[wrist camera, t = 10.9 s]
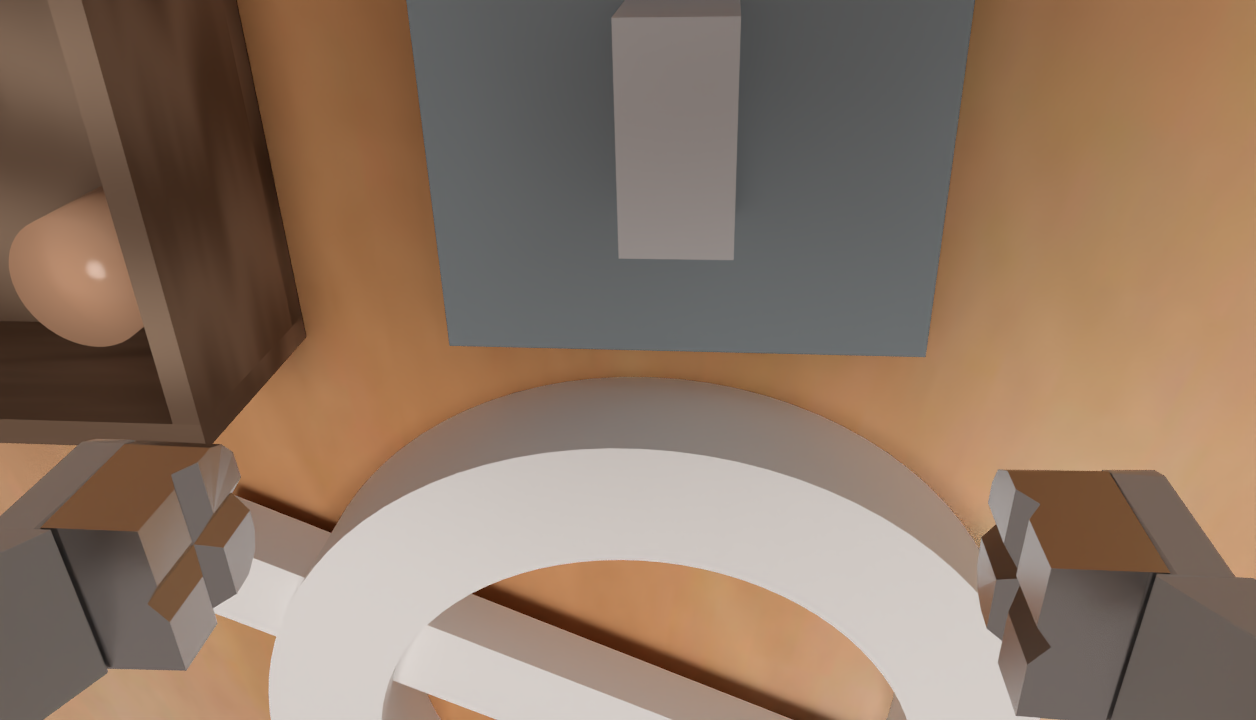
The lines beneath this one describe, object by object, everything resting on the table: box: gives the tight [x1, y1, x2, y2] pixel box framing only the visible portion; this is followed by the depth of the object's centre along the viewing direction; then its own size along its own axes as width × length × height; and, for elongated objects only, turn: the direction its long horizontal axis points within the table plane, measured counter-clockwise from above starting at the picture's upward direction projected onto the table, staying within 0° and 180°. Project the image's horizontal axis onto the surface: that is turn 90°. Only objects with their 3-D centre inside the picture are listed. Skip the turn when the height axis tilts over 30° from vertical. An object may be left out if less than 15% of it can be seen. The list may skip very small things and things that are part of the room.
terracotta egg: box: [9, 186, 144, 347], centre depth 29 cm, size 4×4×4 cm
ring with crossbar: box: [213, 377, 1040, 720], centre depth 37 cm, size 28×28×5 cm
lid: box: [406, 0, 975, 357], centre depth 26 cm, size 15×15×5 cm
